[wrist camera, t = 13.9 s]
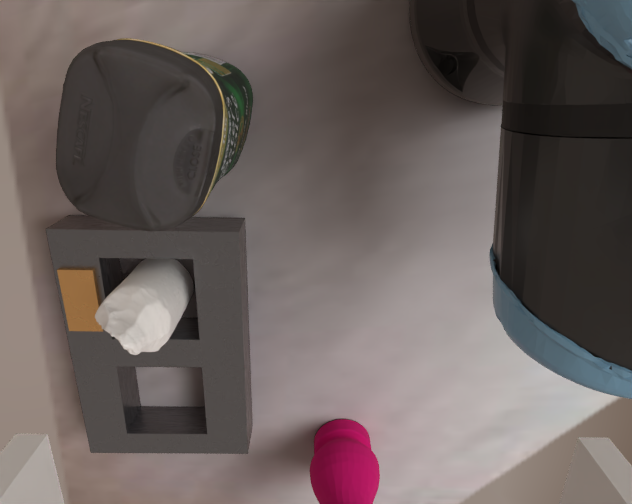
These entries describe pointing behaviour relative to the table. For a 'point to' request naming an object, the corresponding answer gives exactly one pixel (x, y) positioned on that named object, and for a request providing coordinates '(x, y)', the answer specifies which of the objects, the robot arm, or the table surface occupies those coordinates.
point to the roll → (147, 305)
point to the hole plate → (179, 351)
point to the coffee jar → (148, 131)
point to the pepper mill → (344, 464)
